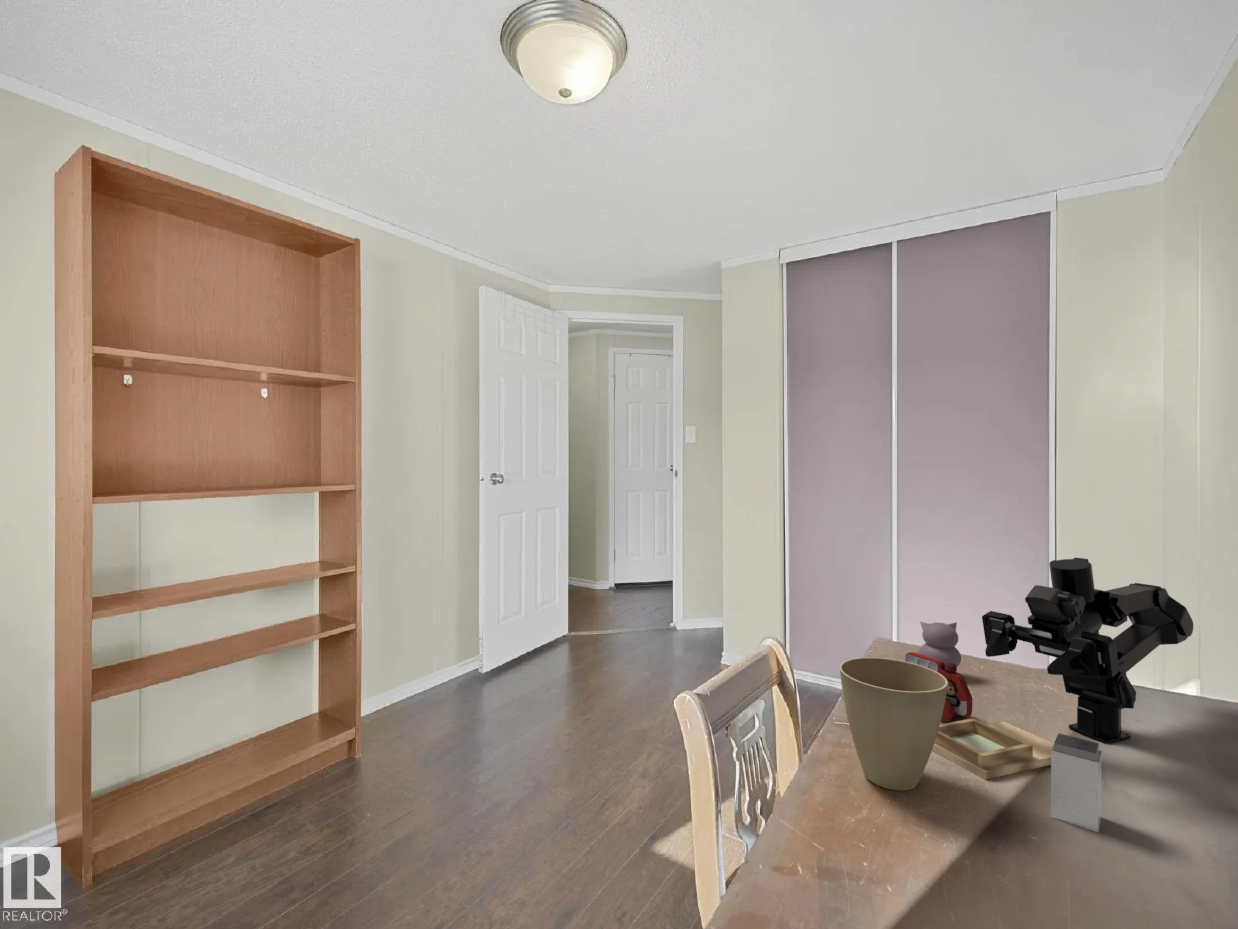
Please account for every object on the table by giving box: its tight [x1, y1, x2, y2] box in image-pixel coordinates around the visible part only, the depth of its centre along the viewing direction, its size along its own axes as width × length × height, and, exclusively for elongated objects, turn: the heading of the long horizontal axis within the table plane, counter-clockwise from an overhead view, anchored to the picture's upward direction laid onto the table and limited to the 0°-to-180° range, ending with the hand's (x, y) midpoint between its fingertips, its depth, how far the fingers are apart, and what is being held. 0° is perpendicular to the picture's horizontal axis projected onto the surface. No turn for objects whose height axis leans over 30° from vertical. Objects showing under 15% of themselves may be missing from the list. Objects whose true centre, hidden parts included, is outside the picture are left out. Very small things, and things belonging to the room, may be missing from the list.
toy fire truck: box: [904, 651, 973, 724], centre depth 114 cm, size 7×12×10 cm, turn 32°
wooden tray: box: [932, 717, 1054, 781], centre depth 99 cm, size 19×12×3 cm, turn 109°
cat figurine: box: [918, 621, 962, 679], centre depth 134 cm, size 8×8×12 cm
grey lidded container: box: [1050, 733, 1103, 833], centre depth 80 cm, size 4×5×10 cm
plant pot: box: [839, 656, 948, 792], centre depth 90 cm, size 15×15×16 cm
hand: (1016, 661), depth 94 cm, fingers open, 9 cm apart
